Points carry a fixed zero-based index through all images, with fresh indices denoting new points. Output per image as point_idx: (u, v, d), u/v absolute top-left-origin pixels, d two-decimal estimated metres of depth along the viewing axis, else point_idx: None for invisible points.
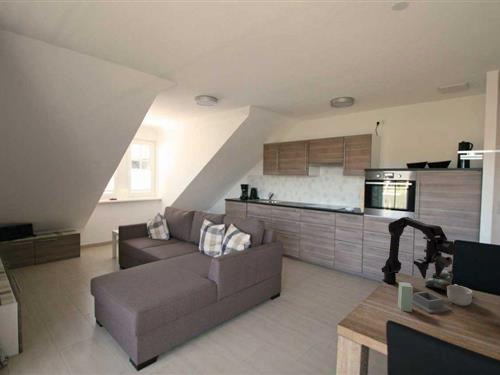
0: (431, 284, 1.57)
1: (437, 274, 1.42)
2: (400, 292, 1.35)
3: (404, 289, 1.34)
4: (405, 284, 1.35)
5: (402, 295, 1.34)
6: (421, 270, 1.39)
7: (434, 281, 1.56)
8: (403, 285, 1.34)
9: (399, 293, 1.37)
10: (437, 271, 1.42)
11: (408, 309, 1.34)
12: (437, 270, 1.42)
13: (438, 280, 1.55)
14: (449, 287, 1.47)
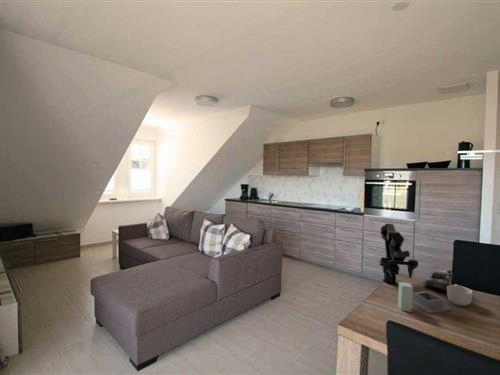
0: (430, 284, 1.57)
1: (409, 276, 1.43)
2: (400, 292, 1.35)
3: (404, 289, 1.34)
4: (405, 284, 1.35)
5: (402, 295, 1.34)
6: (388, 269, 1.48)
7: (433, 281, 1.56)
8: (403, 285, 1.34)
9: (399, 293, 1.37)
10: (409, 273, 1.44)
11: (408, 309, 1.34)
12: (409, 272, 1.45)
13: (437, 280, 1.55)
14: (449, 287, 1.47)
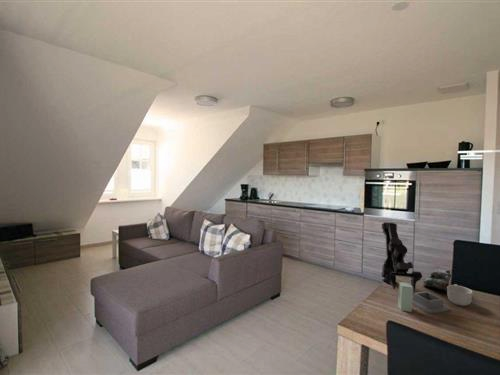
0: (429, 284, 1.57)
1: (413, 288, 1.38)
2: (400, 292, 1.35)
3: (404, 289, 1.34)
4: (405, 284, 1.35)
5: (402, 295, 1.34)
6: (390, 281, 1.42)
7: (432, 281, 1.57)
8: (403, 285, 1.34)
9: (399, 293, 1.37)
10: (412, 286, 1.39)
11: (408, 309, 1.34)
12: (412, 285, 1.39)
13: (436, 280, 1.56)
14: (449, 287, 1.47)
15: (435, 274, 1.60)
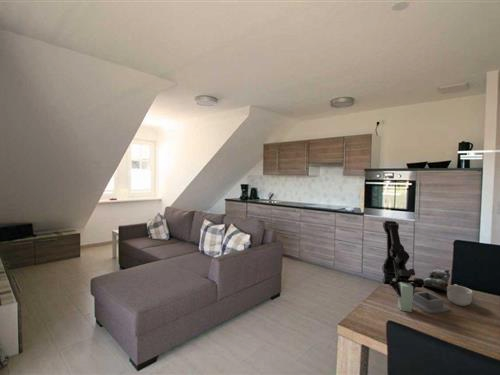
0: (429, 284, 1.58)
1: None
2: (401, 292, 1.35)
3: (404, 289, 1.34)
4: (405, 284, 1.35)
5: (402, 295, 1.34)
6: (395, 289, 1.39)
7: (432, 281, 1.57)
8: (403, 285, 1.34)
9: None
10: None
11: (408, 309, 1.34)
12: None
13: (435, 280, 1.56)
14: (449, 287, 1.47)
15: (434, 274, 1.61)
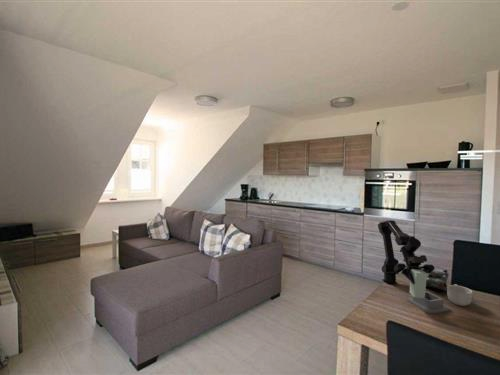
0: (427, 283, 1.58)
1: None
2: (414, 279, 1.35)
3: (418, 276, 1.34)
4: (418, 271, 1.36)
5: (416, 282, 1.34)
6: (408, 276, 1.39)
7: (430, 280, 1.57)
8: (417, 272, 1.34)
9: None
10: None
11: (421, 295, 1.35)
12: None
13: (434, 279, 1.56)
14: (449, 287, 1.47)
15: (432, 274, 1.61)
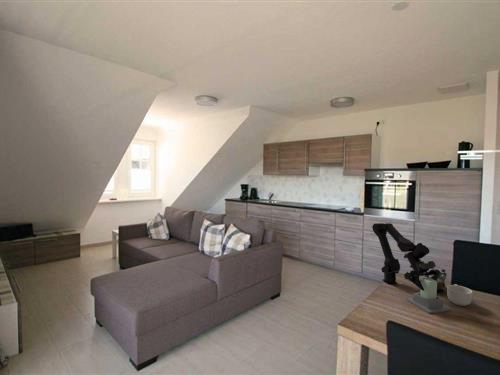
0: None
1: None
2: (426, 288, 1.38)
3: (430, 285, 1.37)
4: (429, 280, 1.39)
5: (429, 290, 1.37)
6: (416, 283, 1.41)
7: None
8: (429, 281, 1.37)
9: None
10: None
11: None
12: None
13: None
14: (449, 287, 1.47)
15: None
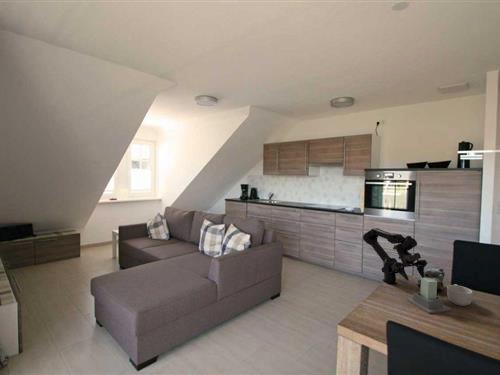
0: None
1: (422, 276, 1.49)
2: (426, 288, 1.38)
3: (430, 285, 1.37)
4: (429, 280, 1.39)
5: (429, 290, 1.37)
6: (402, 273, 1.51)
7: None
8: (429, 281, 1.37)
9: (423, 289, 1.40)
10: (421, 274, 1.50)
11: None
12: (420, 273, 1.51)
13: None
14: (449, 287, 1.47)
15: (429, 273, 1.62)
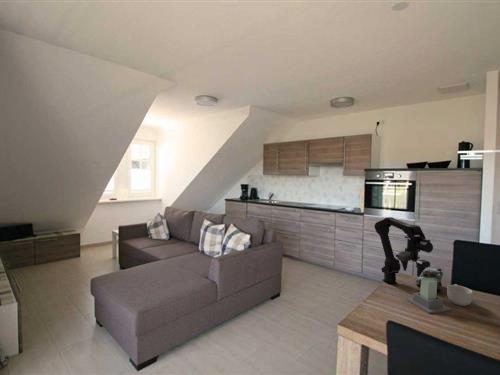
0: None
1: None
2: (426, 288, 1.38)
3: (430, 285, 1.37)
4: (429, 280, 1.39)
5: (429, 290, 1.37)
6: None
7: None
8: (429, 281, 1.37)
9: (423, 289, 1.40)
10: None
11: None
12: None
13: None
14: (449, 287, 1.47)
15: (427, 273, 1.63)
